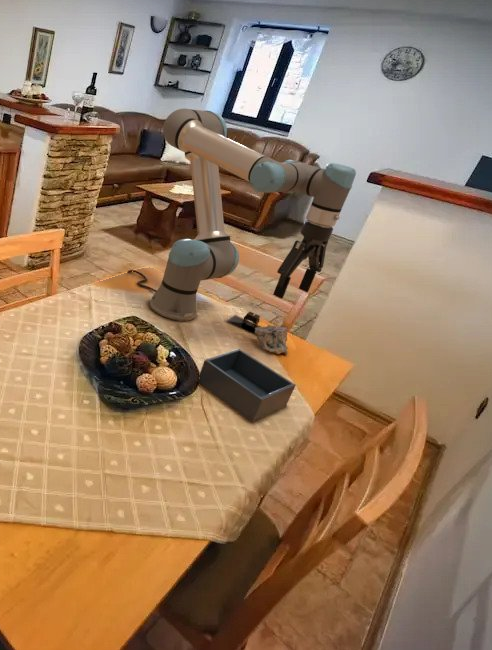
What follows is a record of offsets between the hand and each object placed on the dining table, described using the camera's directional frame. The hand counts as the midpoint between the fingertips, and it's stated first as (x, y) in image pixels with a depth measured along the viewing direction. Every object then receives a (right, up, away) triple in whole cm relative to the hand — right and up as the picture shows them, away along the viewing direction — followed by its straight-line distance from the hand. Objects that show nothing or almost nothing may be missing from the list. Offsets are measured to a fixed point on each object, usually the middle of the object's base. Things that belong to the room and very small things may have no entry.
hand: (290, 293), depth 146 cm
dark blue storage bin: (-20, -27, -16) cm, 37 cm away
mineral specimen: (-3, -16, +9) cm, 19 cm away
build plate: (-5, -10, +19) cm, 22 cm away
